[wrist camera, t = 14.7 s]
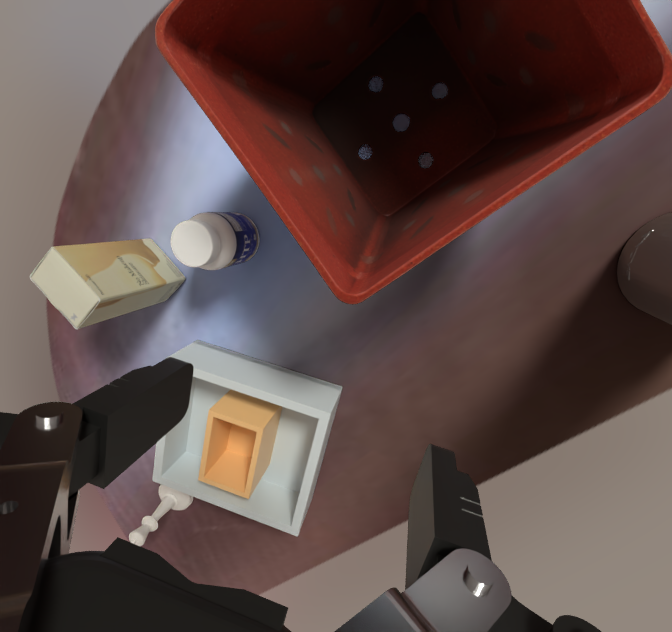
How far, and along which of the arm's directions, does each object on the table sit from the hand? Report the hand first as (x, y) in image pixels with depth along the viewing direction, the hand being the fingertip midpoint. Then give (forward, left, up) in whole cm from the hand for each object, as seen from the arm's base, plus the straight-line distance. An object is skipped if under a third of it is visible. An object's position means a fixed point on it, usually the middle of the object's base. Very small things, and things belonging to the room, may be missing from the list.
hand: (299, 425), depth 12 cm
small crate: (+10, +21, -27) cm, 36 cm away
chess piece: (+19, +36, -28) cm, 50 cm away
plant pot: (+2, -14, -28) cm, 32 cm away
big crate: (+10, +21, -28) cm, 36 cm away
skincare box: (+25, +6, -28) cm, 38 cm away
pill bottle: (+16, 0, -28) cm, 33 cm away
